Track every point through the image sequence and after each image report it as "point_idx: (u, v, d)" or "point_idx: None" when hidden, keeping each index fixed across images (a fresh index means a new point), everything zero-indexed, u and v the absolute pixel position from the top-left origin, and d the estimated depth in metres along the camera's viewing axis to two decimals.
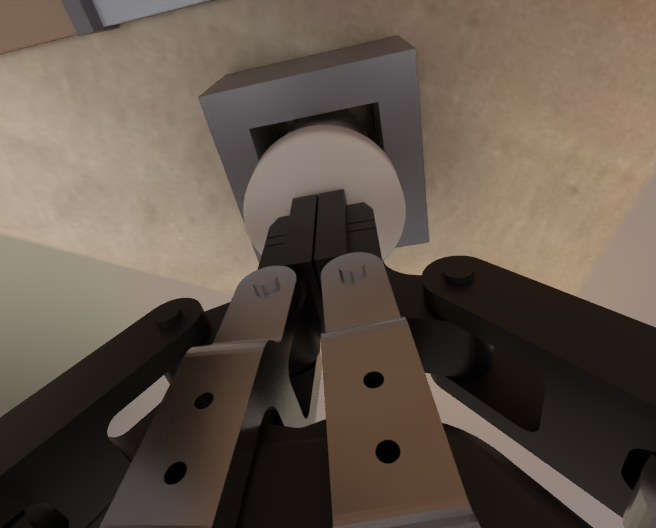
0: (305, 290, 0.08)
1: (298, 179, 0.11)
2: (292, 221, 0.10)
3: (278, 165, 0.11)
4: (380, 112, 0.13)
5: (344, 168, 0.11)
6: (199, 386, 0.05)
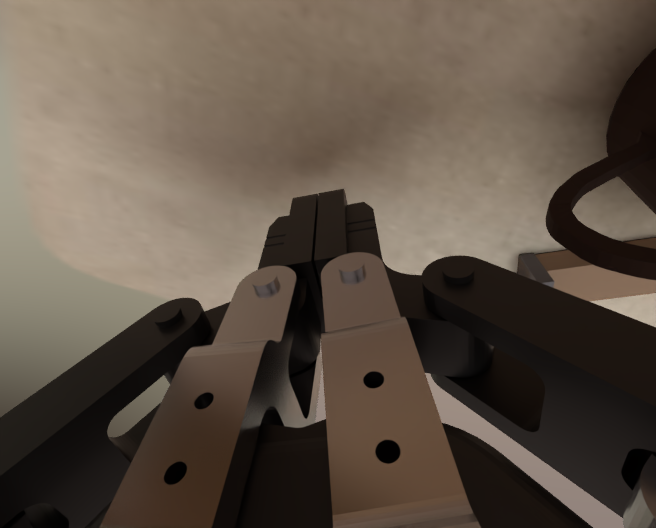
0: (304, 290, 0.08)
1: None
2: (292, 221, 0.10)
3: None
4: None
5: None
6: (199, 386, 0.05)
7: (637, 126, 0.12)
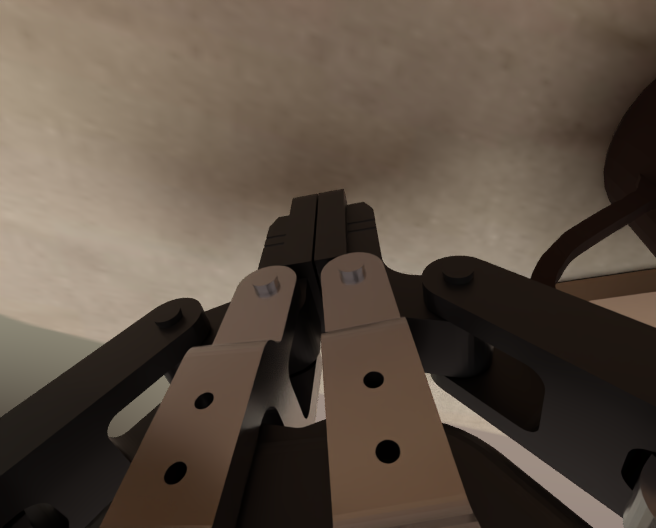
0: (305, 290, 0.08)
1: None
2: (292, 221, 0.10)
3: None
4: None
5: None
6: (199, 386, 0.05)
7: (636, 167, 0.11)
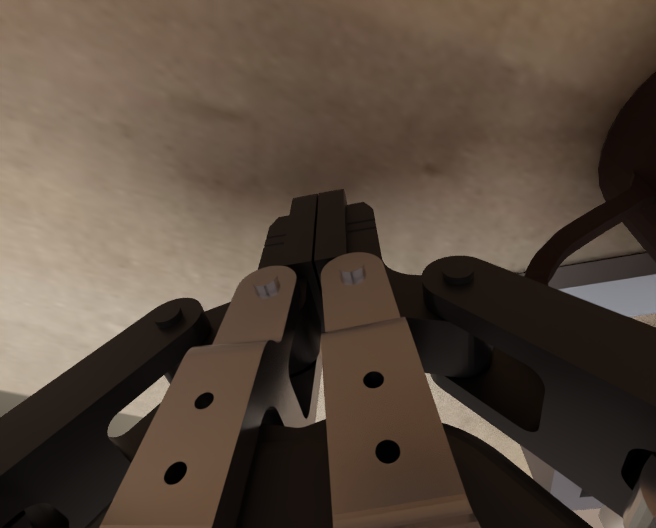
0: (305, 290, 0.08)
1: None
2: (292, 221, 0.10)
3: None
4: None
5: None
6: (199, 386, 0.05)
7: (630, 166, 0.11)
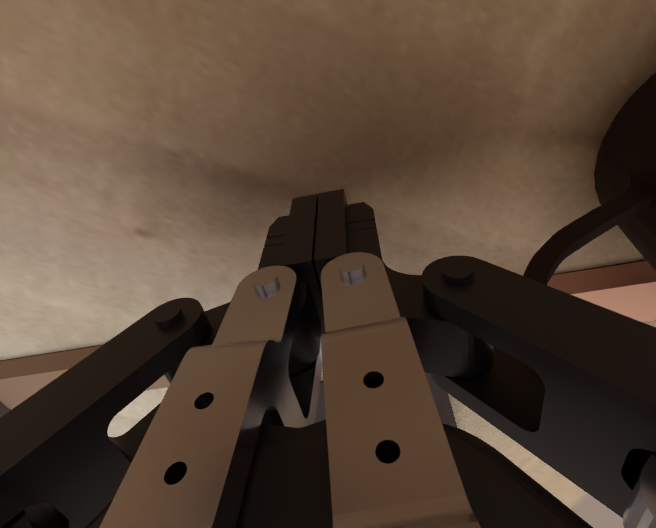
0: (305, 290, 0.08)
1: None
2: (292, 221, 0.10)
3: None
4: None
5: None
6: (199, 386, 0.05)
7: (625, 169, 0.11)
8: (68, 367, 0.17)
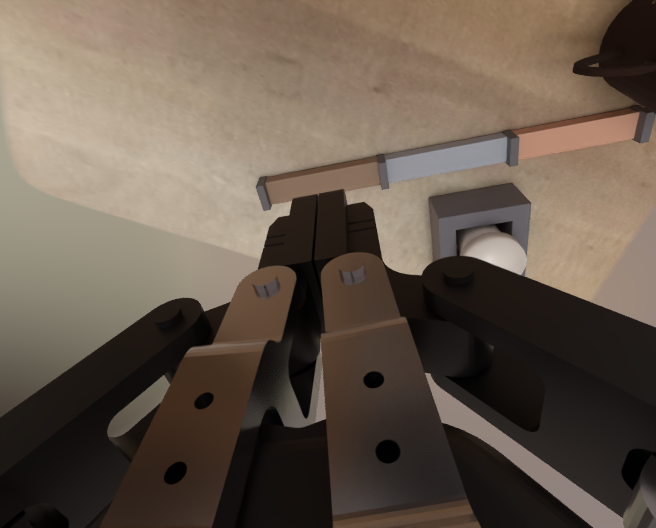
0: (304, 290, 0.08)
1: (488, 253, 0.30)
2: (292, 221, 0.10)
3: (482, 248, 0.30)
4: (512, 224, 0.32)
5: (506, 249, 0.30)
6: (199, 386, 0.05)
7: (612, 46, 0.27)
8: (316, 172, 0.33)
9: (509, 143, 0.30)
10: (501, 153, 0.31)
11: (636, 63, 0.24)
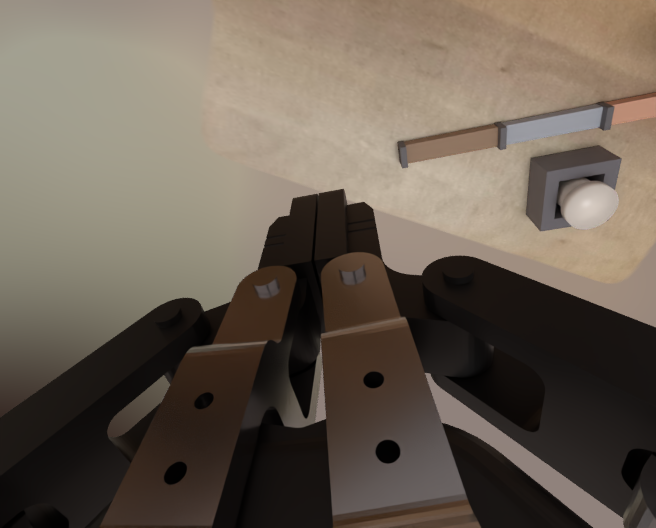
0: (304, 290, 0.08)
1: (589, 196, 0.39)
2: (292, 221, 0.10)
3: (585, 193, 0.38)
4: (604, 176, 0.40)
5: (604, 193, 0.38)
6: (199, 386, 0.05)
7: None
8: (447, 136, 0.41)
9: (605, 111, 0.39)
10: (596, 120, 0.40)
11: None
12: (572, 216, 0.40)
